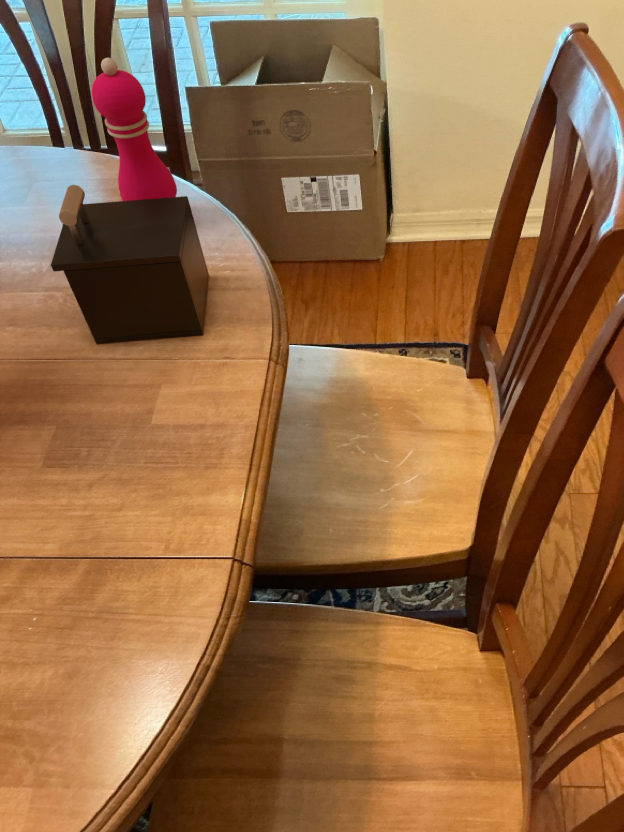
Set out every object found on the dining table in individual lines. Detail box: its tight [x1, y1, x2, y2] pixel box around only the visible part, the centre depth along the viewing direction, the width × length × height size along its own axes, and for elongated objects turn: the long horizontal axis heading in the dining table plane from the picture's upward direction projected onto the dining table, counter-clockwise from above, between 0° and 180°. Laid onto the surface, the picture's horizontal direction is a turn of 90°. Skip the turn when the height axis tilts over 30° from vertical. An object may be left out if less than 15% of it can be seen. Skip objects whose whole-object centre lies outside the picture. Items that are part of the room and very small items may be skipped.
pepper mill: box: [91, 57, 178, 201], centre depth 95 cm, size 7×7×20 cm
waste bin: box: [63, 203, 210, 345], centre depth 88 cm, size 12×11×10 cm
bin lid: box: [50, 184, 190, 272], centre depth 82 cm, size 13×11×5 cm
